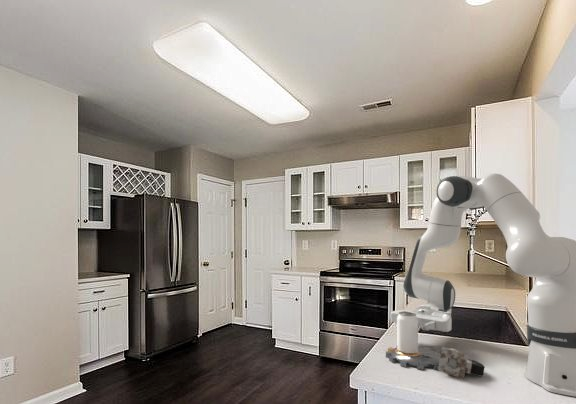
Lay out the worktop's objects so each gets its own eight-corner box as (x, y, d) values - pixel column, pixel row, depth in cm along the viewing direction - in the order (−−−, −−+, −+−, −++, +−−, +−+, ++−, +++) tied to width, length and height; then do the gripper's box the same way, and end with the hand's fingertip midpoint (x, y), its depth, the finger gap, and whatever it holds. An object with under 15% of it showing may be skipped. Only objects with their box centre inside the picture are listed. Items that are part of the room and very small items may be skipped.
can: (405, 347, 118) (405, 310, 120) (422, 352, 113) (421, 314, 114) (393, 349, 115) (393, 312, 116) (409, 355, 109) (409, 316, 111)
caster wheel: (481, 379, 101) (482, 387, 93) (440, 364, 107) (437, 370, 98) (485, 356, 102) (487, 362, 94) (444, 342, 108) (442, 346, 99)
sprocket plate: (457, 357, 112) (457, 353, 112) (435, 375, 98) (435, 370, 98) (401, 345, 125) (401, 340, 125) (375, 358, 111) (374, 354, 111)
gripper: (399, 304, 134) (382, 310, 124) (455, 312, 120) (441, 319, 110) (400, 321, 134) (382, 328, 124) (456, 331, 120) (441, 340, 110)
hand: (410, 324), depth 117 cm, fingers open, 8 cm apart
